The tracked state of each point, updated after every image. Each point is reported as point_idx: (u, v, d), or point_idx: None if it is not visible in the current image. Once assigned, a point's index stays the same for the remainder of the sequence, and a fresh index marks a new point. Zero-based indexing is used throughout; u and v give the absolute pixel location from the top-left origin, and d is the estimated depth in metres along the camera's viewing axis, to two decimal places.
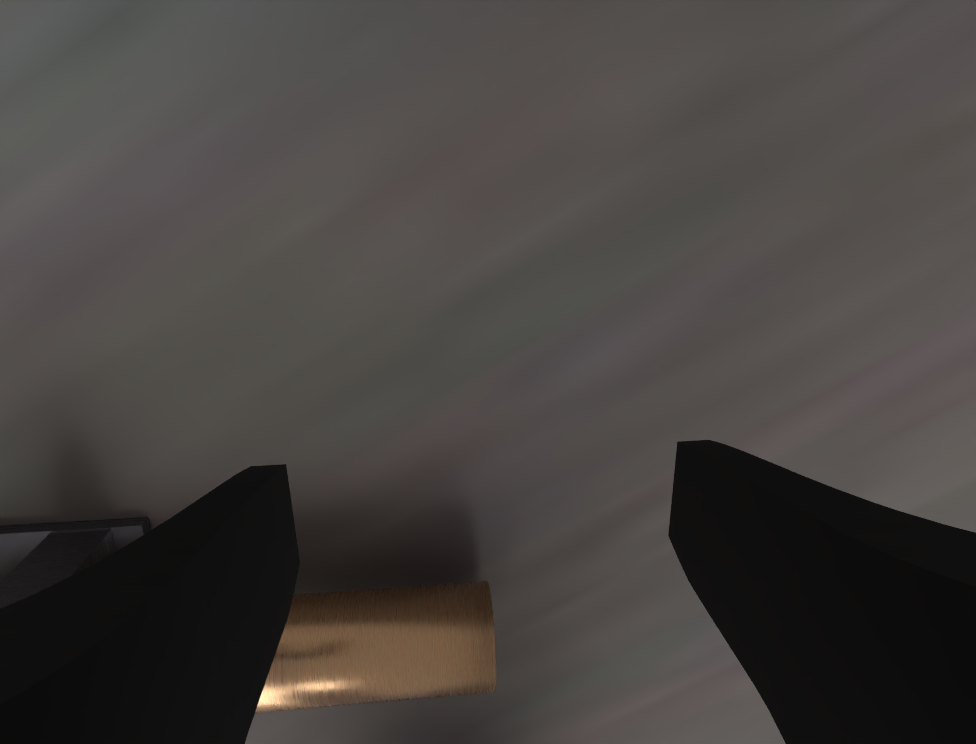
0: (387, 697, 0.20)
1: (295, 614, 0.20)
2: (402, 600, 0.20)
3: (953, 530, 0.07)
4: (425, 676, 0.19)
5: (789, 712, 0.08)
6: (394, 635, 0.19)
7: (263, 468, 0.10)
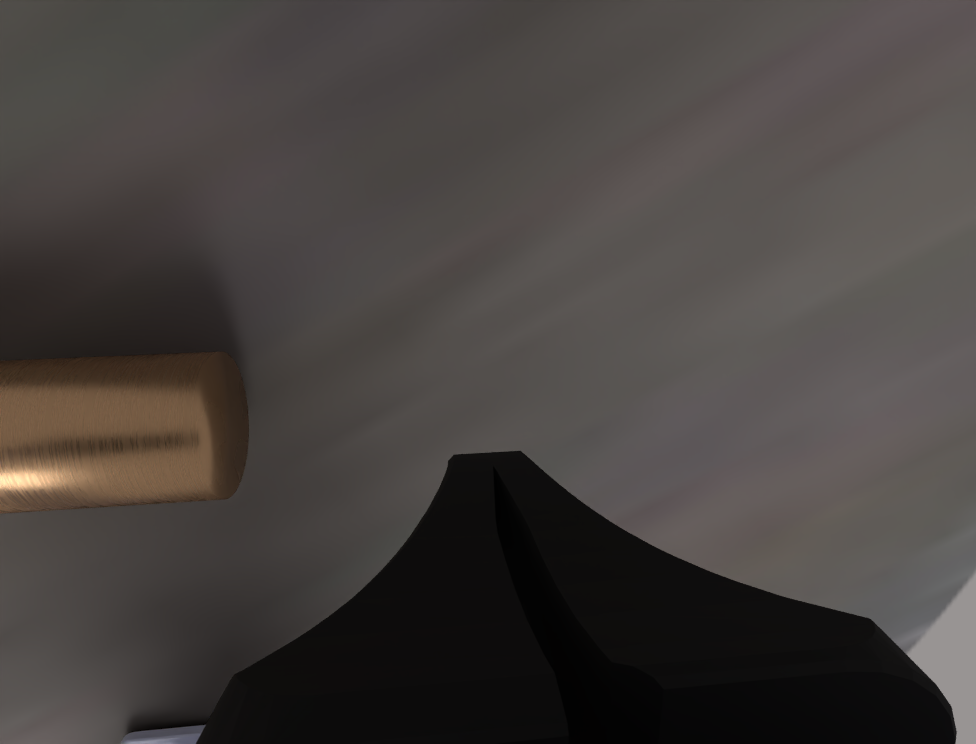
0: (37, 493, 0.13)
1: None
2: (78, 361, 0.14)
3: (654, 552, 0.06)
4: (86, 456, 0.13)
5: None
6: (43, 396, 0.13)
7: (471, 456, 0.10)
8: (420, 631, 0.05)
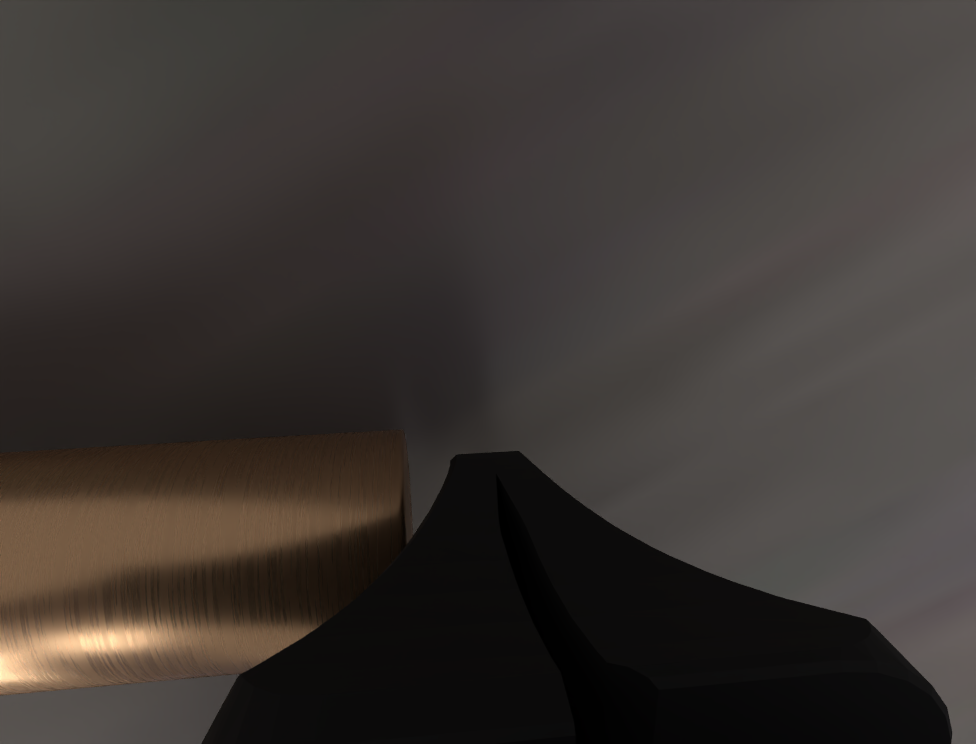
0: (146, 670, 0.08)
1: None
2: (199, 453, 0.09)
3: (651, 552, 0.06)
4: (229, 617, 0.08)
5: None
6: (156, 519, 0.08)
7: (473, 456, 0.10)
8: (424, 631, 0.05)
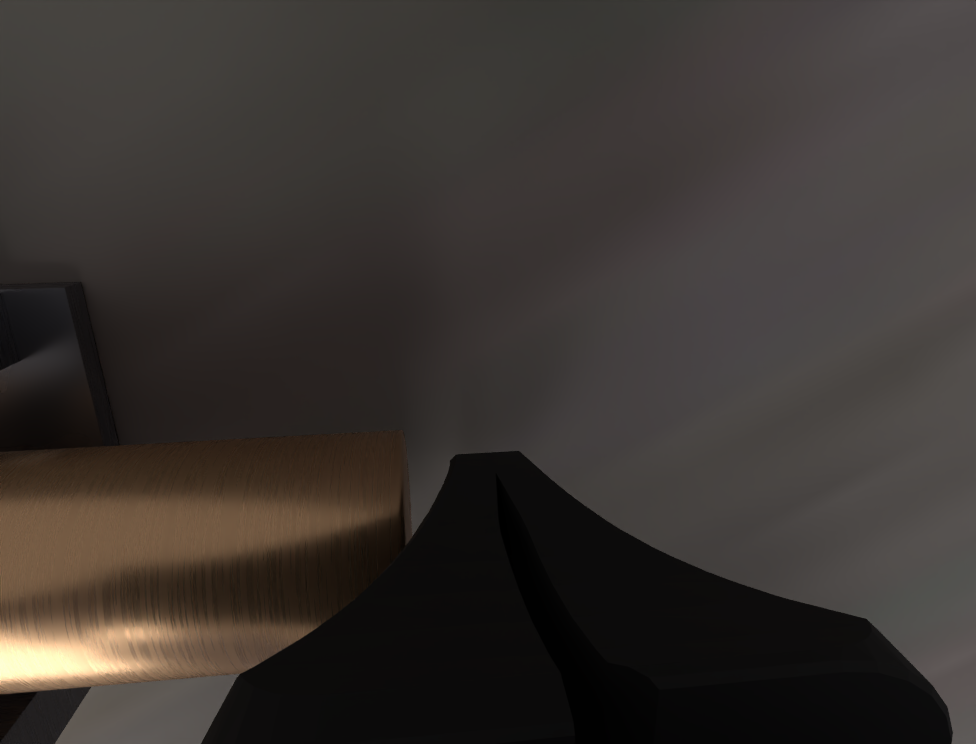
0: (145, 669, 0.08)
1: None
2: (198, 452, 0.09)
3: (651, 552, 0.06)
4: (228, 617, 0.08)
5: None
6: (156, 519, 0.08)
7: (473, 456, 0.10)
8: (424, 632, 0.05)
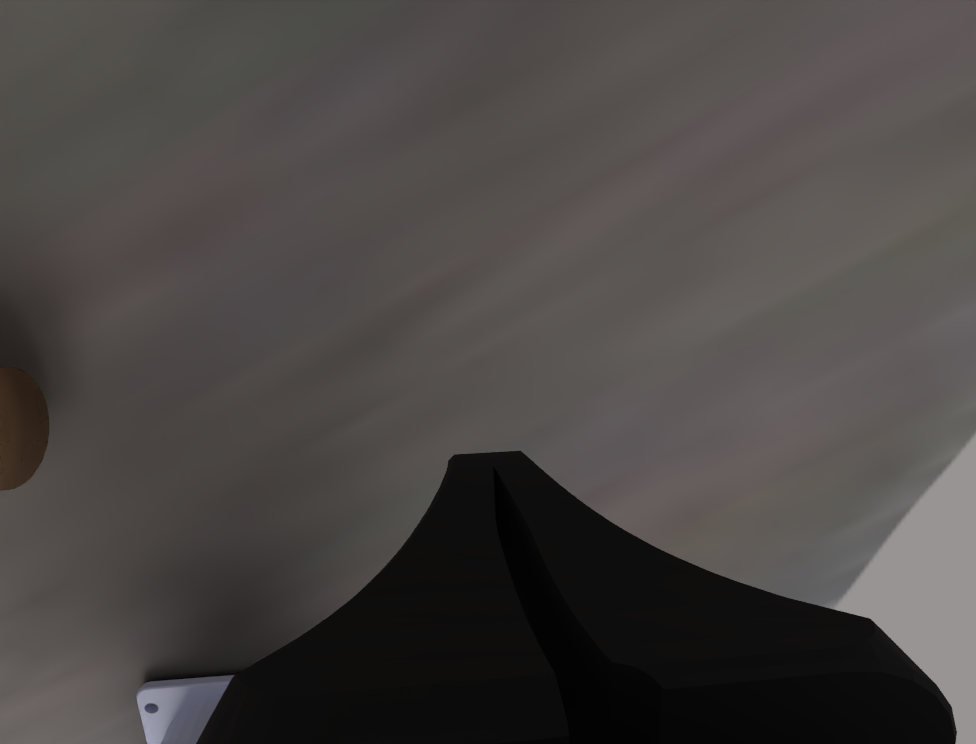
0: None
1: None
2: None
3: (654, 552, 0.06)
4: None
5: None
6: None
7: (471, 456, 0.10)
8: (420, 631, 0.05)
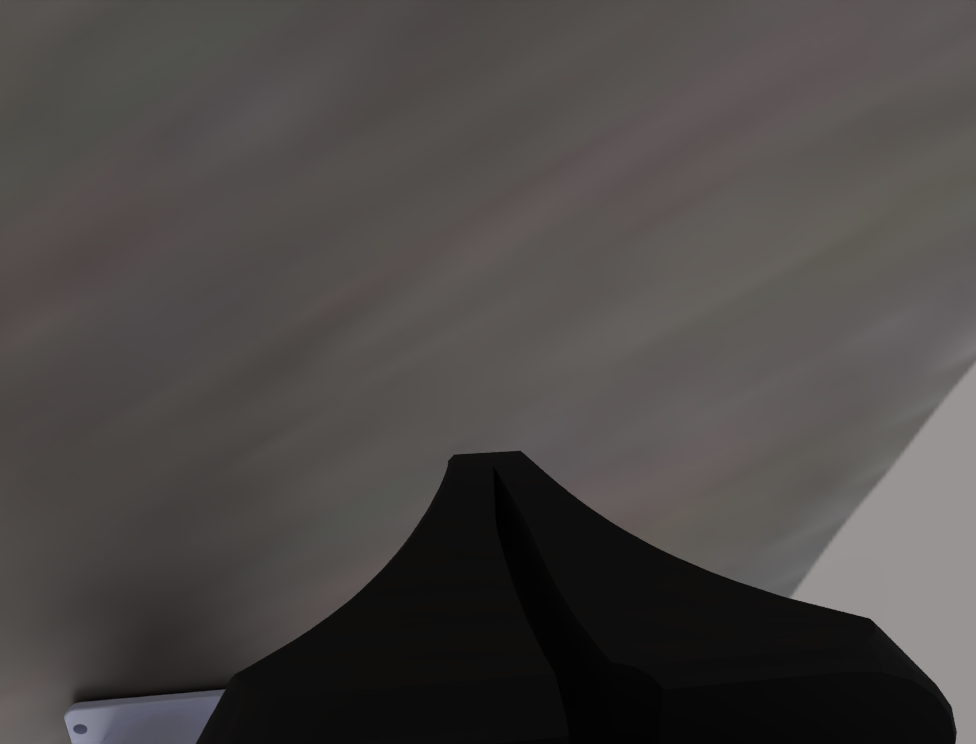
0: None
1: None
2: None
3: (654, 552, 0.06)
4: None
5: None
6: None
7: (471, 456, 0.10)
8: (419, 631, 0.05)
